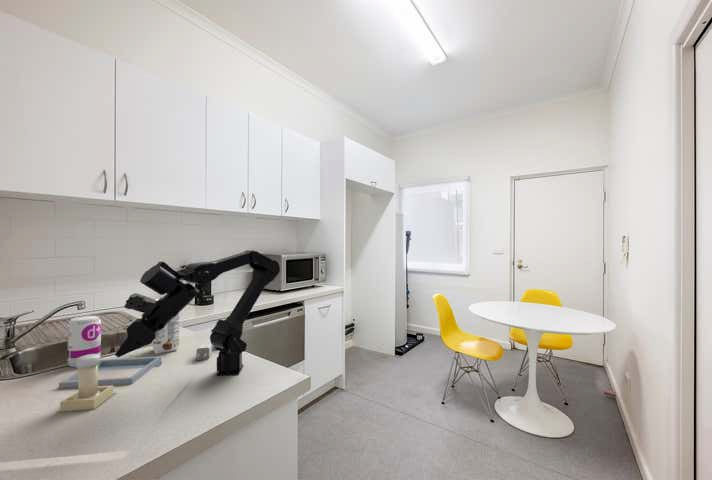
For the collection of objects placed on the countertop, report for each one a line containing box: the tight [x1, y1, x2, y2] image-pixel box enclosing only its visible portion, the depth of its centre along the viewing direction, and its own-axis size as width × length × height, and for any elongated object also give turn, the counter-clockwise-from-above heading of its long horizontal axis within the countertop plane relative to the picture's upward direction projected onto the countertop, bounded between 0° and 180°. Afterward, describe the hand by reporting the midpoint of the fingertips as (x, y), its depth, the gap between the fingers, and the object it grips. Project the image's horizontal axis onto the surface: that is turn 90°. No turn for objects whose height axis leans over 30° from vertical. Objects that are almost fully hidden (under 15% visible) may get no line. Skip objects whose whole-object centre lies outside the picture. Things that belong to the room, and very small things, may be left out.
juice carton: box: [151, 298, 180, 355], centre depth 112 cm, size 8×9×19 cm
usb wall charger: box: [196, 342, 213, 361], centre depth 103 cm, size 4×7×4 cm, turn 16°
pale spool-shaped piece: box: [75, 354, 101, 400], centre depth 73 cm, size 4×4×11 cm
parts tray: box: [58, 356, 162, 390], centre depth 89 cm, size 18×16×2 cm
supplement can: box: [67, 314, 102, 368], centre depth 100 cm, size 8×8×15 cm
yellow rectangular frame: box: [55, 385, 117, 414], centre depth 73 cm, size 8×8×3 cm
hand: (123, 349), depth 76 cm, fingers open, 9 cm apart
